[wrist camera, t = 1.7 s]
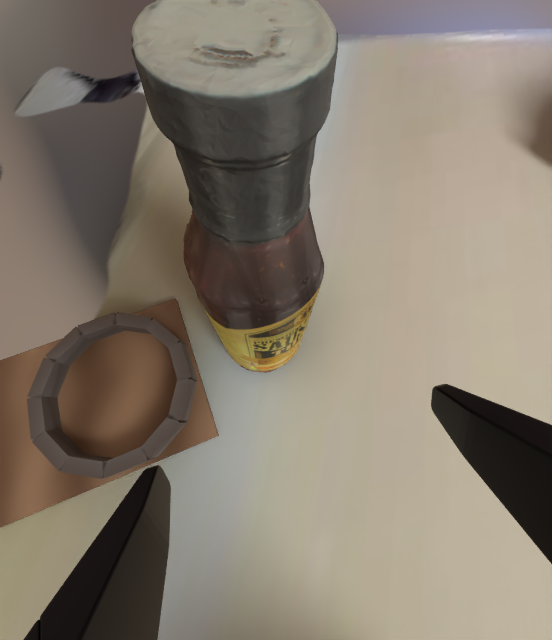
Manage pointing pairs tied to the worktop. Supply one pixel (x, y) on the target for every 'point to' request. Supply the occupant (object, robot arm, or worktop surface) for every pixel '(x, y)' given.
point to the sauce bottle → (244, 156)
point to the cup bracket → (97, 407)
